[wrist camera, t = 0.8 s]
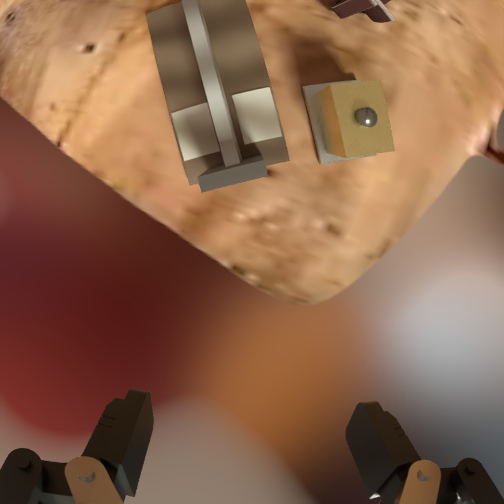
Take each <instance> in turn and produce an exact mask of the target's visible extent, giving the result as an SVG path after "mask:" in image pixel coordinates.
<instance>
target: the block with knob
mask: <svg viewBox="0 0 504 504" xmlns="http://www.w3.org/2000/svg"><path fill="white" fill-rule="evenodd" d="M314 97H315V101H316V105H317V109H318V113H319V117H320V122H321V126H322V130H323V135H324V139H325V144H326V149H327V153H328V154H332V155H336V156H339V157H343V158H352V157H358V156H364V155H370V154H376V153H383V152H390V151H395V150H394V144H393V138H392V132H391V127H390V121H389V116H388V111H387V107H386V102H385V98H384V93H383V89H382V85H381V81H380V80H374V81H359V82H347V83H338V84H330V85H328V86H326V87H325V88H323V89H322V90H320V91H319V92H317V93H316V94H314Z"/></svg>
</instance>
